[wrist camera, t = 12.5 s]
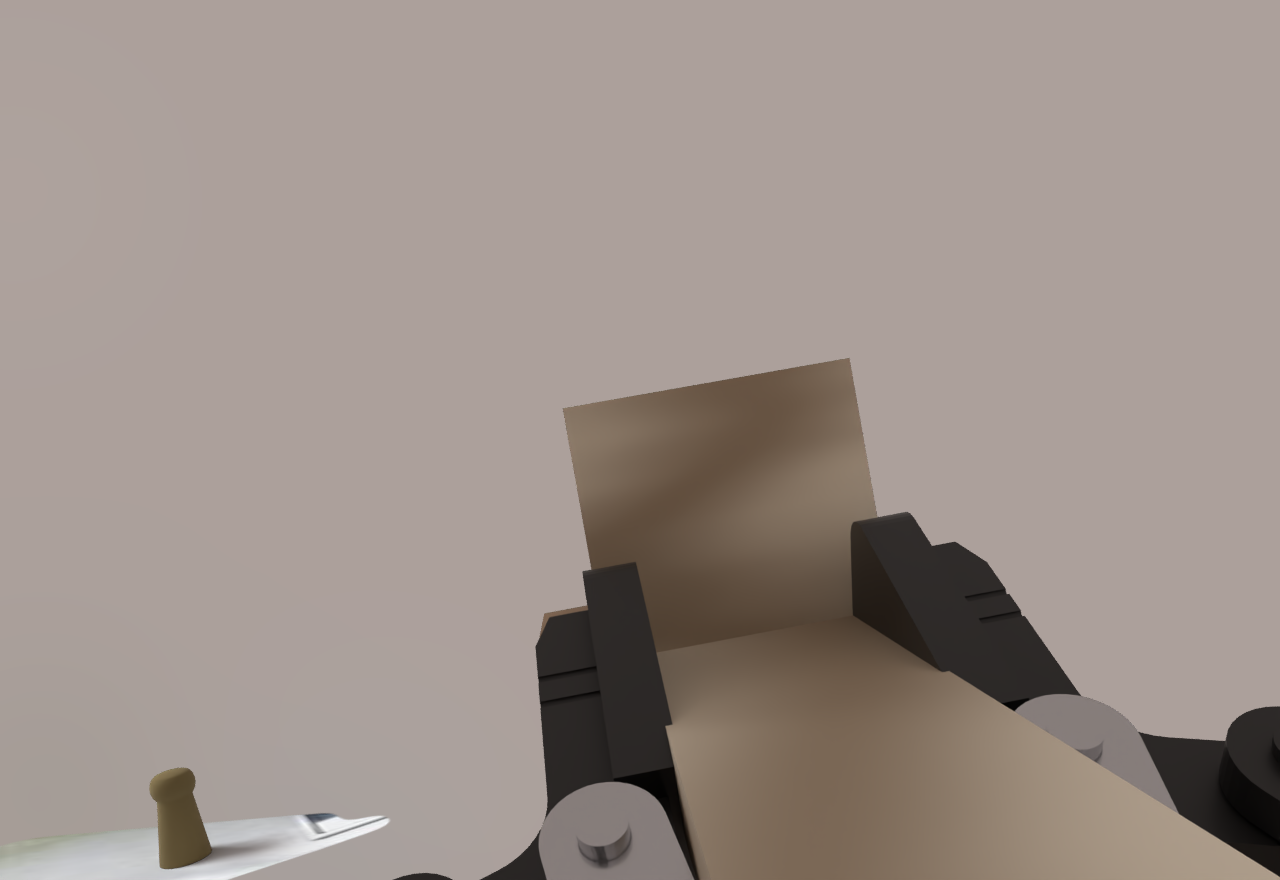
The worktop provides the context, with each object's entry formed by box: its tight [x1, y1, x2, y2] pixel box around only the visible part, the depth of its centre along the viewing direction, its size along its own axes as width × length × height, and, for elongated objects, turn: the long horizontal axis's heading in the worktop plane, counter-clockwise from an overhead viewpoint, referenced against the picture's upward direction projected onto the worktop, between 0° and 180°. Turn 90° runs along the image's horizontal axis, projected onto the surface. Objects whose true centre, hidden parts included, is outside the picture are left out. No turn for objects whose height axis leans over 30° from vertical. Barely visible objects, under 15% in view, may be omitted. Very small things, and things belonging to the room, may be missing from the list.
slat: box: [563, 358, 1280, 880], centre depth 13 cm, size 4×16×5 cm, turn 3°
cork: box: [150, 768, 212, 869], centre depth 132 cm, size 6×6×11 cm
